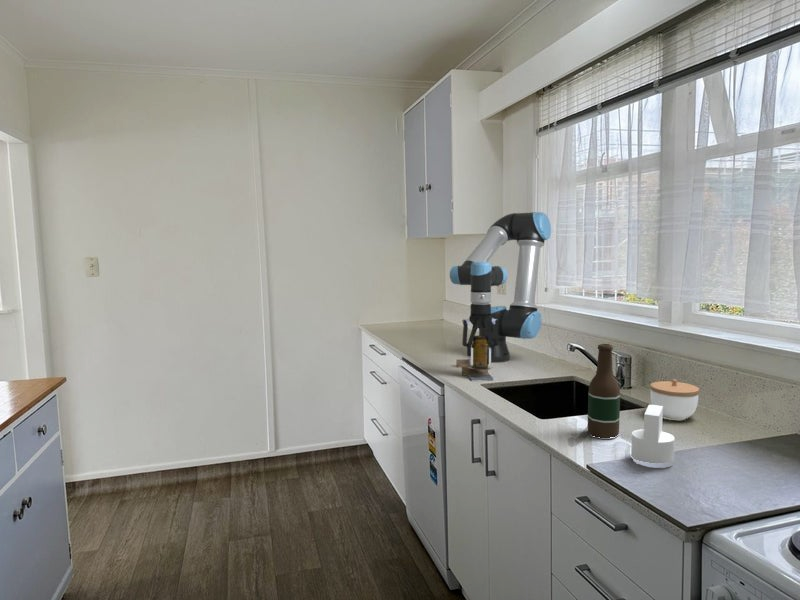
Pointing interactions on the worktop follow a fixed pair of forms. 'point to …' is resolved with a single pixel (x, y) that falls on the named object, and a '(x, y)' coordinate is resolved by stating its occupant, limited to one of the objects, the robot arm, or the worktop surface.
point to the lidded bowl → (675, 398)
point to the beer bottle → (604, 397)
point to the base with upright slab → (653, 439)
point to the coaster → (480, 376)
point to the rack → (465, 370)
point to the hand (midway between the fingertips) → (480, 364)
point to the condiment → (480, 353)
